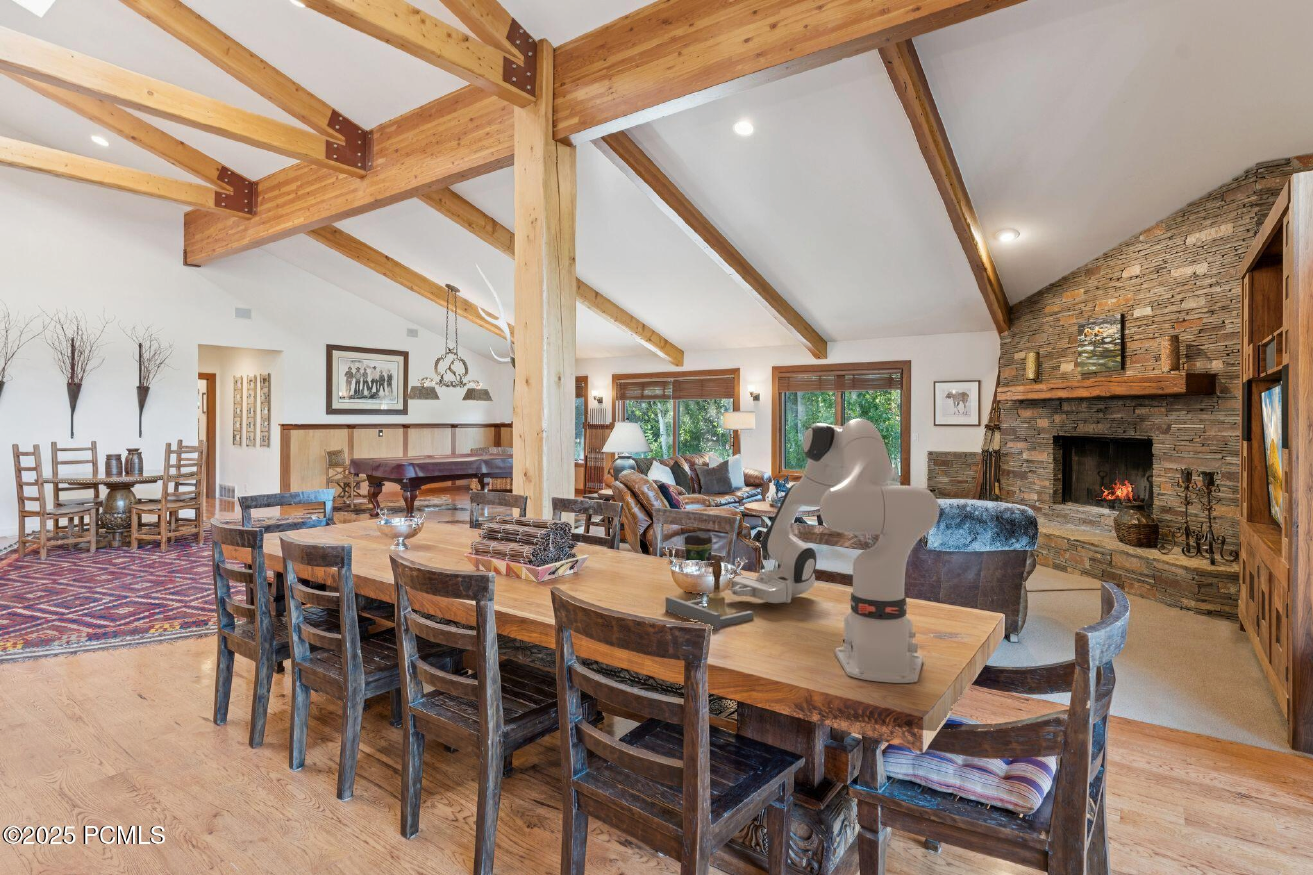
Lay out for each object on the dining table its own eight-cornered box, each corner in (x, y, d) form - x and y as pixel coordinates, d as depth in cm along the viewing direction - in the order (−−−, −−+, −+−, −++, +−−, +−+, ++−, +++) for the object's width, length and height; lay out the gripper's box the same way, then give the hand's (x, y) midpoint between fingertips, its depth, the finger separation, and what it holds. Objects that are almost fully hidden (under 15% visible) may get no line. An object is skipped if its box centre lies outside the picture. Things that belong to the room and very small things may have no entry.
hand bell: (722, 609, 190) (722, 553, 190) (736, 616, 183) (736, 559, 182) (696, 612, 187) (696, 556, 187) (710, 620, 179) (710, 561, 179)
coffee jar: (693, 584, 220) (693, 529, 220) (715, 587, 216) (715, 530, 216) (680, 591, 211) (680, 533, 211) (703, 594, 208) (703, 535, 207)
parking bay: (705, 603, 197) (705, 589, 197) (757, 620, 179) (757, 605, 179) (665, 610, 188) (665, 596, 188) (715, 630, 170) (715, 614, 170)
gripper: (745, 568, 205) (711, 574, 197) (795, 581, 189) (759, 588, 181) (745, 589, 205) (711, 595, 197) (795, 603, 189) (759, 611, 181)
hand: (734, 592), depth 189 cm, fingers closed
